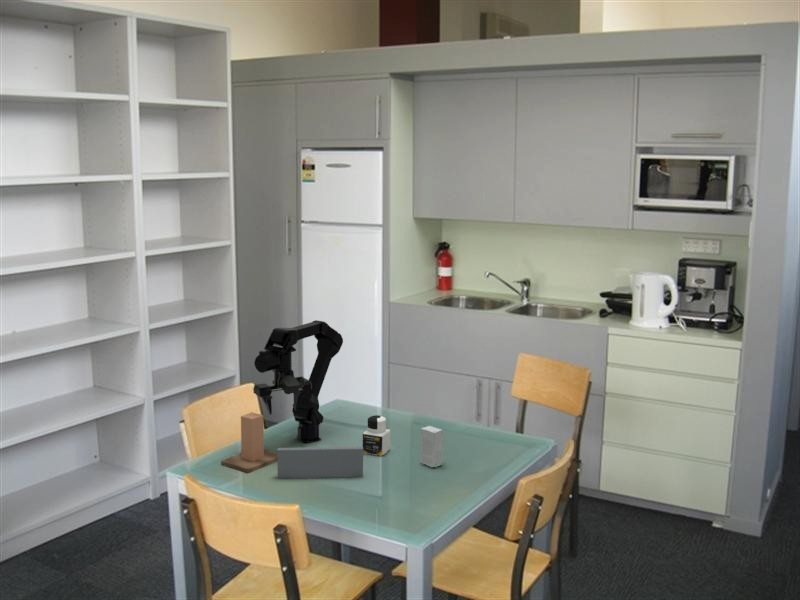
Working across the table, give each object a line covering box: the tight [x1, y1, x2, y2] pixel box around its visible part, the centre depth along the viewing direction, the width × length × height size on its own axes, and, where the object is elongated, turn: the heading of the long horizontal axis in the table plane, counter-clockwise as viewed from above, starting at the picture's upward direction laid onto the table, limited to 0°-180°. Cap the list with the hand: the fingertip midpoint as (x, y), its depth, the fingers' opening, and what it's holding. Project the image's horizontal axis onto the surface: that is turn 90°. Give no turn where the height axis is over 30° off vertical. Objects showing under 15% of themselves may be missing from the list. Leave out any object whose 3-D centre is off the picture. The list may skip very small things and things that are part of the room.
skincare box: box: [419, 425, 444, 466], centre depth 270 cm, size 6×4×12 cm
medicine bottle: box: [362, 414, 391, 457], centre depth 281 cm, size 7×7×12 cm
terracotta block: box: [240, 411, 265, 462], centre depth 270 cm, size 5×5×14 cm
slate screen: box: [276, 446, 364, 479], centre depth 261 cm, size 6×26×9 cm, turn 95°
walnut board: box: [220, 448, 277, 474], centre depth 271 cm, size 16×12×1 cm
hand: (283, 412), depth 280 cm, fingers open, 9 cm apart
